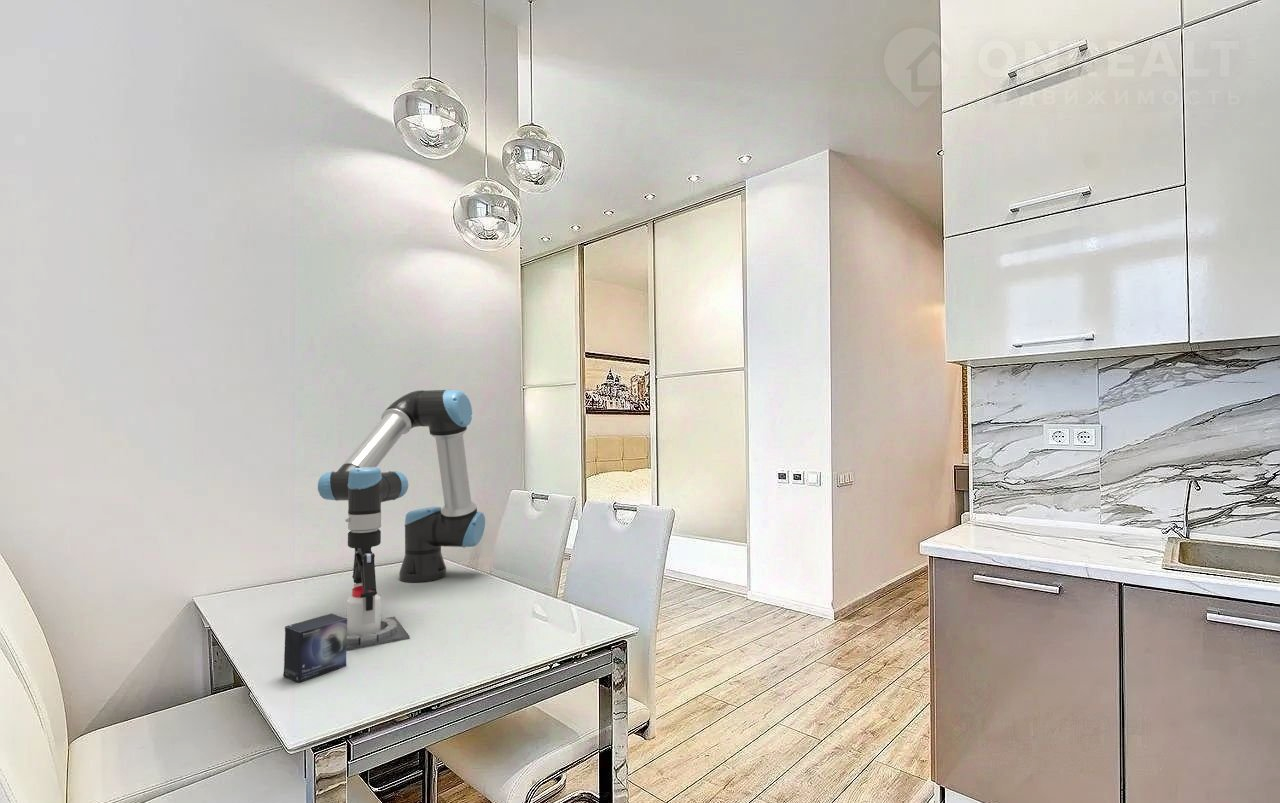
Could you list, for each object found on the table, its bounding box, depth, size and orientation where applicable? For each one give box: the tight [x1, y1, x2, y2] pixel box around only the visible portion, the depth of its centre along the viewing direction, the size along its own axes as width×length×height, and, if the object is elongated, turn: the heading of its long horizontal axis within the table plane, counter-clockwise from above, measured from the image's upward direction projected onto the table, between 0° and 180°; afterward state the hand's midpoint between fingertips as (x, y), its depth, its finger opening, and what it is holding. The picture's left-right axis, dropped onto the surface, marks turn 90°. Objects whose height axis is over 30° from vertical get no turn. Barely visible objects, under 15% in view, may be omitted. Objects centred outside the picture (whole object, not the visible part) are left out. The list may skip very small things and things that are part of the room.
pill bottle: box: [346, 586, 382, 636], centre depth 151 cm, size 8×8×11 cm
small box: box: [282, 613, 347, 683], centre depth 129 cm, size 11×6×10 cm, turn 148°
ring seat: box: [346, 615, 411, 652], centre depth 151 cm, size 18×18×2 cm
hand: (363, 615), depth 151 cm, fingers open, 13 cm apart
